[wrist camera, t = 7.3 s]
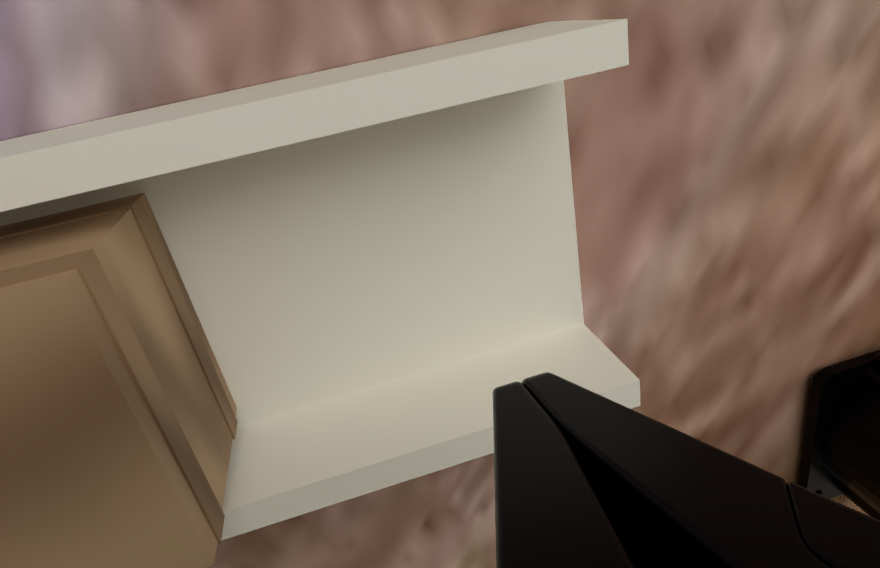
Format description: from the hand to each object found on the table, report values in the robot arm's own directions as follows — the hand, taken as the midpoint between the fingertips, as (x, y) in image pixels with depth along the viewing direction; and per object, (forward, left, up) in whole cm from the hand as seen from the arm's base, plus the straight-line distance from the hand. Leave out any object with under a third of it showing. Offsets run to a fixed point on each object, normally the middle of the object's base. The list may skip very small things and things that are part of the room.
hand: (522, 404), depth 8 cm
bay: (0, +5, -8) cm, 9 cm away
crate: (0, +9, -7) cm, 11 cm away
